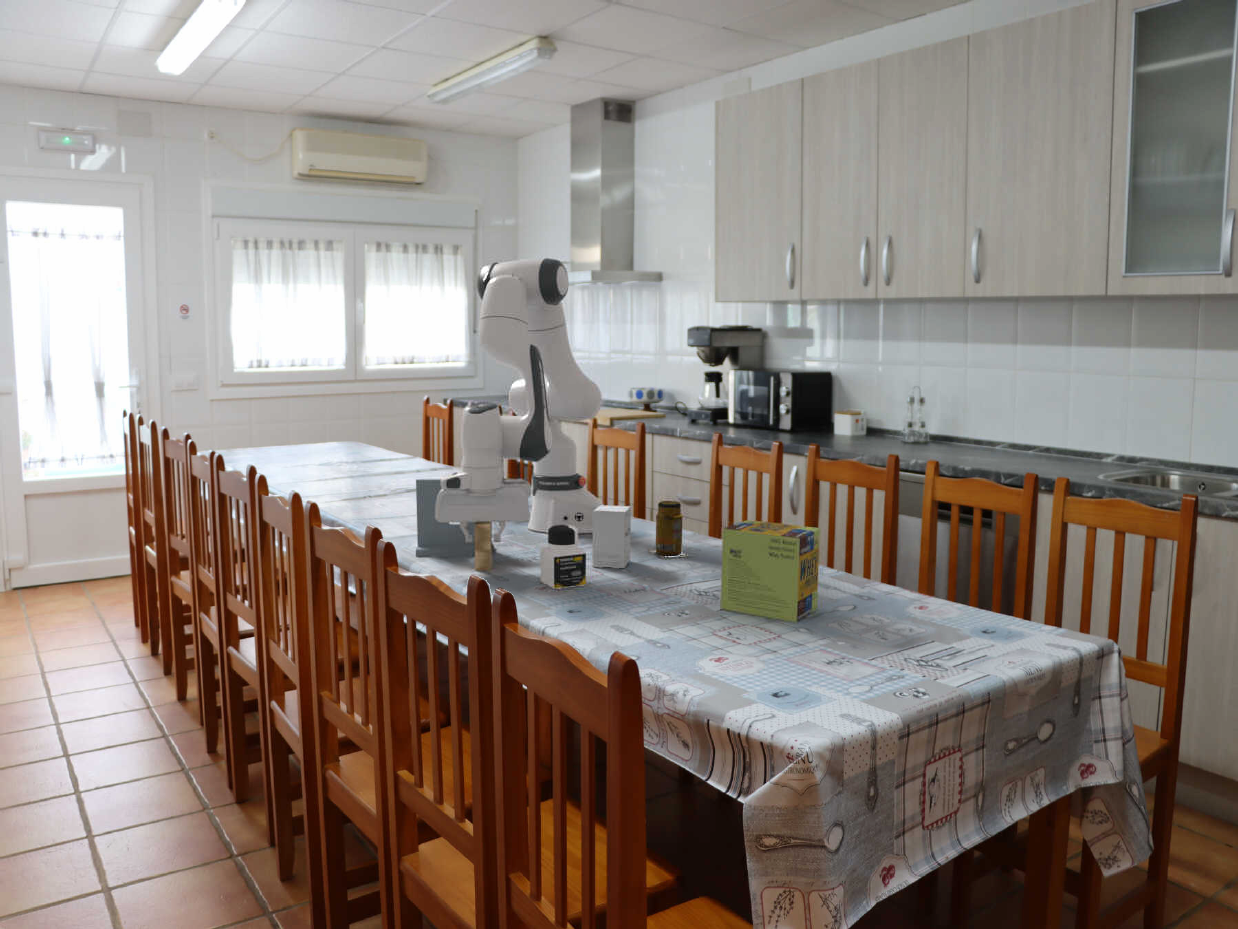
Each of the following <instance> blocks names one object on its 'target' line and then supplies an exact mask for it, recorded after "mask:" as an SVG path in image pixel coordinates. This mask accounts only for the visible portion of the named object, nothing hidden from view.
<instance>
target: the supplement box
mask: <svg viewBox="0 0 1238 929" xmlns="http://www.w3.org/2000/svg"><path fill="white" fill-rule="evenodd" d="M631 511H632V507H631V506H629V505H604V506H599V507H598V508H596V509H595V510H594V511H593V533H592V567H594V568H603V567H613V568H612V569H619V568H624V569H625V568H626V566H627V565H628V564H629V563H630V561H631V535H632V534H631V533H632V532H631V527H632V526H631V525H632V524H631V522H632V521H631V518H632V513H631Z"/></svg>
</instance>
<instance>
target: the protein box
mask: <svg viewBox="0 0 1238 929" xmlns="http://www.w3.org/2000/svg"><path fill="white" fill-rule="evenodd" d="M820 532H821V528H819V527H812V526H802V525H795V524H786V523H779V522H767V521H758V520H751V519H750V520H749V519H746V520H744V521H741V522H738V523H735V524H732V525H729V526H726V527H724V528H722V539H721V540H722V541H721V542H722V546H721V547H722V548H721V549H722V550H721V582H720V584H721V585H720V586H721V588H720V609H721V610H724V609H725V611H730V612H735V611H736V612H735V613H742V614H747V615H752V616H757V617H763V618H768V619H775V620H779V619H780V621H786V622H791V623H798V622H799V621H801V620H802V619H804V618H806V617H808V616H809V615H810V614H811V613H813V612H815V611H817V610H818V596H819V594H818V593H819V567H820V566H819V565H820V564H819V563H820V562H819V560H820V557H819V556H820V534H821V533H820Z"/></svg>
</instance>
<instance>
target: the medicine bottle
mask: <svg viewBox="0 0 1238 929" xmlns="http://www.w3.org/2000/svg"><path fill="white" fill-rule="evenodd" d="M547 546H548V547H542V548H540V582H541V583H542V582H543V583H542V584H544V585H546V584H547V585H548V586H547V585H546V586H547V587H549V586H550V587H549V588H551V587H552V588H553V590H554V589H557V590H560V589H559V588H565V587H571V586H580V587H582V586H581V585H585V586H587V552H586V551H585V550H583V549H580V548H578V546H579V533H578V529H577V528H576V527H574V526H571V525H555V526H552V527H550V528H549V529H548V533H547ZM552 588H551V589H552ZM565 589H566V588H565Z"/></svg>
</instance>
